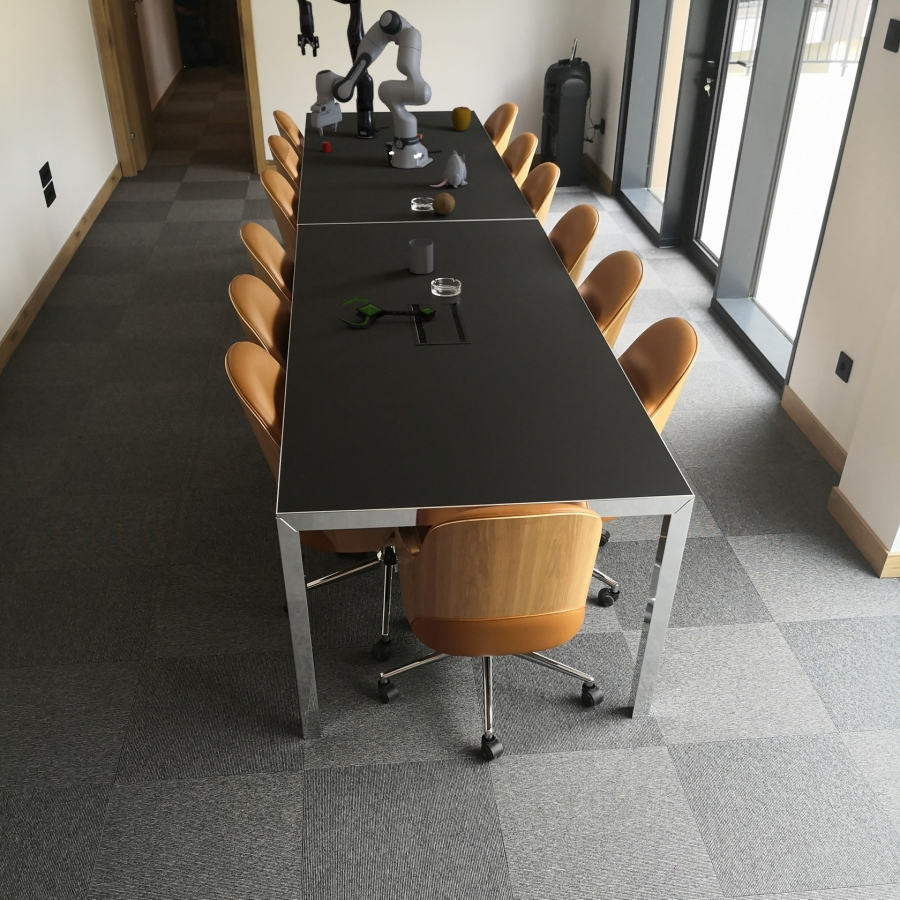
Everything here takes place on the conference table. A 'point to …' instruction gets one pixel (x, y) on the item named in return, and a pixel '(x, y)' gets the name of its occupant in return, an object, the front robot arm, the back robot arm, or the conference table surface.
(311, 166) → the conference table surface
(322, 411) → the conference table surface
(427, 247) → the cup
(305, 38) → the back robot arm
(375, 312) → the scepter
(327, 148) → the tin
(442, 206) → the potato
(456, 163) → the toy
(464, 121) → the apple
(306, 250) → the conference table surface
